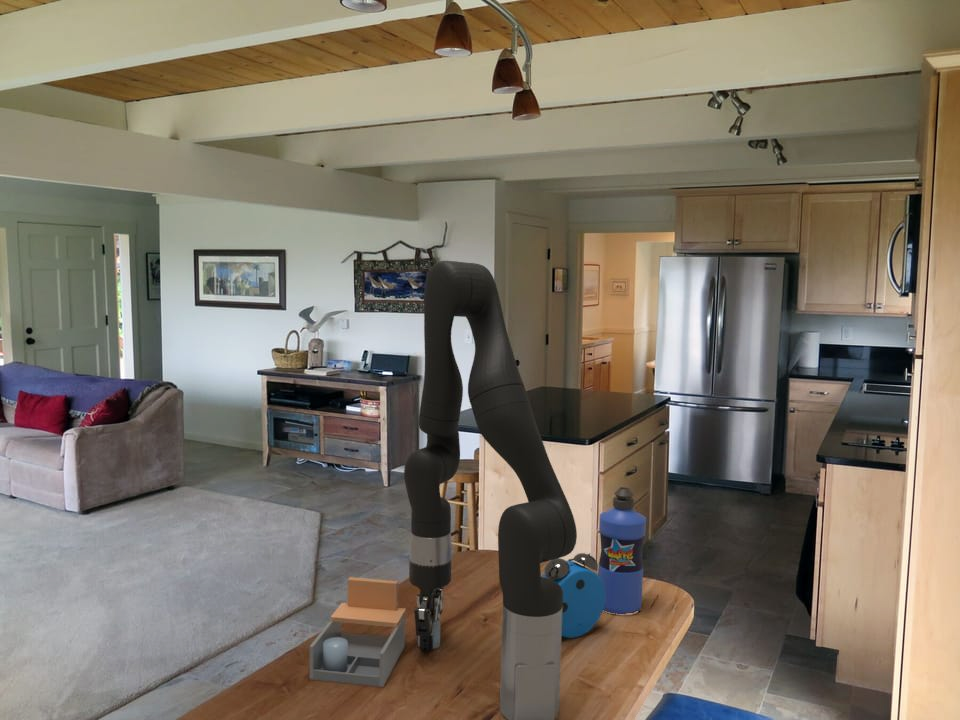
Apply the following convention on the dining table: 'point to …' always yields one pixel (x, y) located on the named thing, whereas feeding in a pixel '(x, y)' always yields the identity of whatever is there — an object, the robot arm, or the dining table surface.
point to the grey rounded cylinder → (335, 654)
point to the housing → (359, 656)
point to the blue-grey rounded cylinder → (434, 635)
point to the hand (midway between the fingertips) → (429, 647)
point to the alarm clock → (578, 592)
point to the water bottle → (622, 554)
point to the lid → (370, 603)
